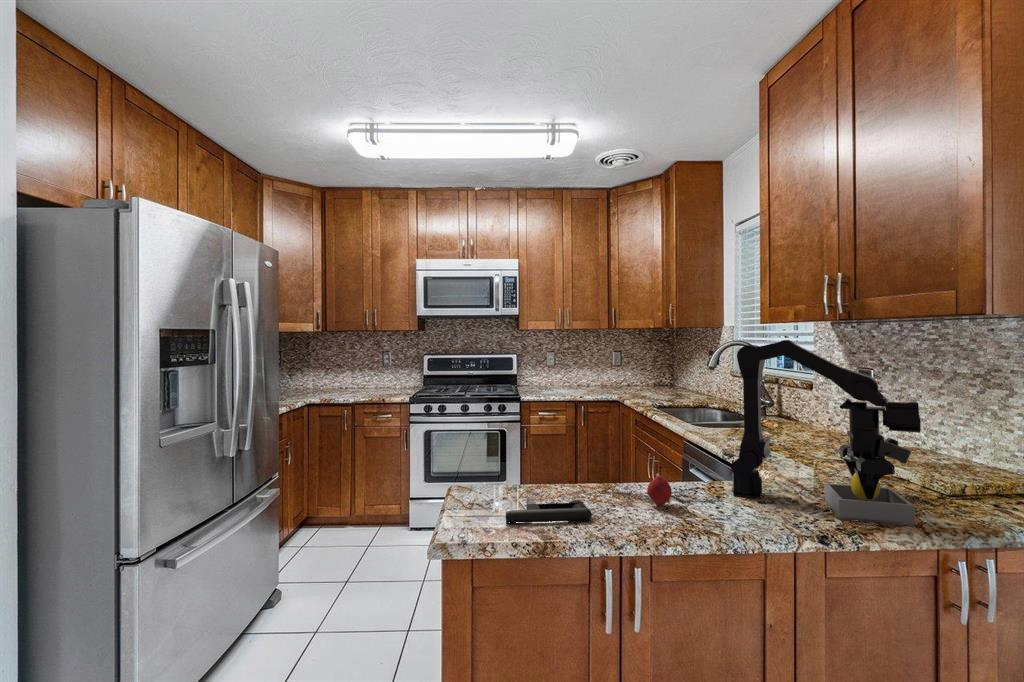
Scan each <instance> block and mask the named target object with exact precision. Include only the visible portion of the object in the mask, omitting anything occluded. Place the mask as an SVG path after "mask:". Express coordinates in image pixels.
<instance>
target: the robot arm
mask: <svg viewBox="0 0 1024 682" xmlns="http://www.w3.org/2000/svg"><path fill="white" fill-rule="evenodd" d="M780 357H787V358H789V359H790V360H792V361H794V362H796V363H798V364H800V365H802V366H804V367H805V368H807V369H809V370H810V371H813V372H815V373H816V374H819V375H821V376H823V377H824V378H826V379H828V380H830V381H831V382H832V383H834V384H835V385H836V386H837V387H839V388H840V389H841V390H843V392H845V393H847V394H848V395H849V396H850V397H852V398H853V399H855V400H857V401H852V400H851V399H850V398H849V397H848V398H846V399H845V401H844V402H842V403H841V404H840V405H839V409H841V410H848V414H849V415H848V416H849V417H848V418H849V419H848V422H849V423H848V424H849V425H848V427H849V428H848V429H849V430H847V431H846V434H847V436H848V437H849V444H842V445H841V446H840V447H838V448H839V450H838V451H839V456H840V457H841V458H842V461H843V462H844V464H845V466H846V468H847V470H848V472H849V474H850V476H851V478H852V477H853V475H854V474H855V473H856V474H857V477H858V479H859V481H860V484H861V486H862V489H863V491H864V494H865V496H866V498H867V499H873V496H874V493H875V490H876V487H877V484H878V482H879V481H880V479H881V478H883V477H885V476H888V475H890V476H891V475H895V469H896V467H895V465H894V464H893V463H892V462H891V461H890V460H888V459H886V457H888V458H891V459H894V460H896V461H899V462H900V463H903V464H905V465H906V464H907V462H908V461H909V458H910V456H911V453H912V450H910V449H908V448H905V447H904V446H902V445H899V441H898V440H897V439H894V438H891V437H887V438H886V439H885V437H884V436H883V435H882V434H880V412H882V426H883V427H885V428H888V431H892V432H902V433H903V432H905V433H914V434H918V433H919V434H921V424H922V423H921V416H920V409H919V402H917V401H907V402H905V401H903V402H902V401H889V400H888V399H887V397H886V396H885V395H883V394H882V393H881V391H880V390H879V383H878V381H877V380H876V379H875V378H874V377H872V376H870V375H867V374H864V373H862V372H858V371H856V370H852V369H849V368H846V367H842V366H839V365H837V364H836V363H834V362H832V361H829V360H827V359H826V358H824V357H821V356H820V355H818V354H816V353H814V352H813V351H810V350H808V349H807V348H804V347H802V346H800V345H798V344H797V343H795V342H794V341H793V340H789V339H783V340H781V341H778V342H773V343H769V344H764V345H760V346H759V345H756V344H749V345H748V344H747V345H744V346H741V348H739V349H738V350H737V353H736V359H737V365H738V368H739V369H738V370H739V372H740V374H741V377H742V385H743V386H742V387H743V389H742V390H743V394H742V396H743V434H742V438H741V442H740V447H739V452H738V458H736V459H735V460H734V461H733V462H732V463H730V464H729V467H730V469H731V472H732V488H731V489H732V495H733V496H735V497H745V498H746V497H747V498H757V499H760V498H761V497H762V494H763V481H762V480H763V479H762V476H761V475H760V472H759V468H760V467H761V466H762V464H763V463H764V462H766V460H767V459H768V456H769V455H770V454H771V451H770V448H769V447H770V440H771V439H770V438H765V437H764V435H763V434H764V433H763V431H762V398H761V397H762V395H761V393H762V391H761V385H762V384H761V378H762V374H763V371H764V367H765V362H766V360H770V359H775V358H780ZM867 402H869V403H871V404H872V405H873V406H869V405H868V404H867ZM879 483H880V482H879Z"/></svg>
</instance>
